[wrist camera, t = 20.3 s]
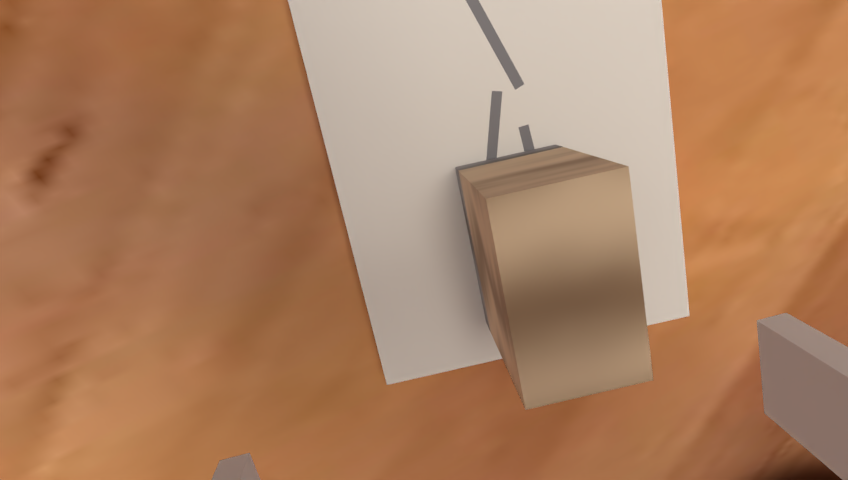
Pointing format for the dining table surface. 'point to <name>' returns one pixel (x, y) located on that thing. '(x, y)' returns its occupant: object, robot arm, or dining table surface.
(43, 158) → the dining table surface
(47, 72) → the dining table surface
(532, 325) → the block
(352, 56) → the board
